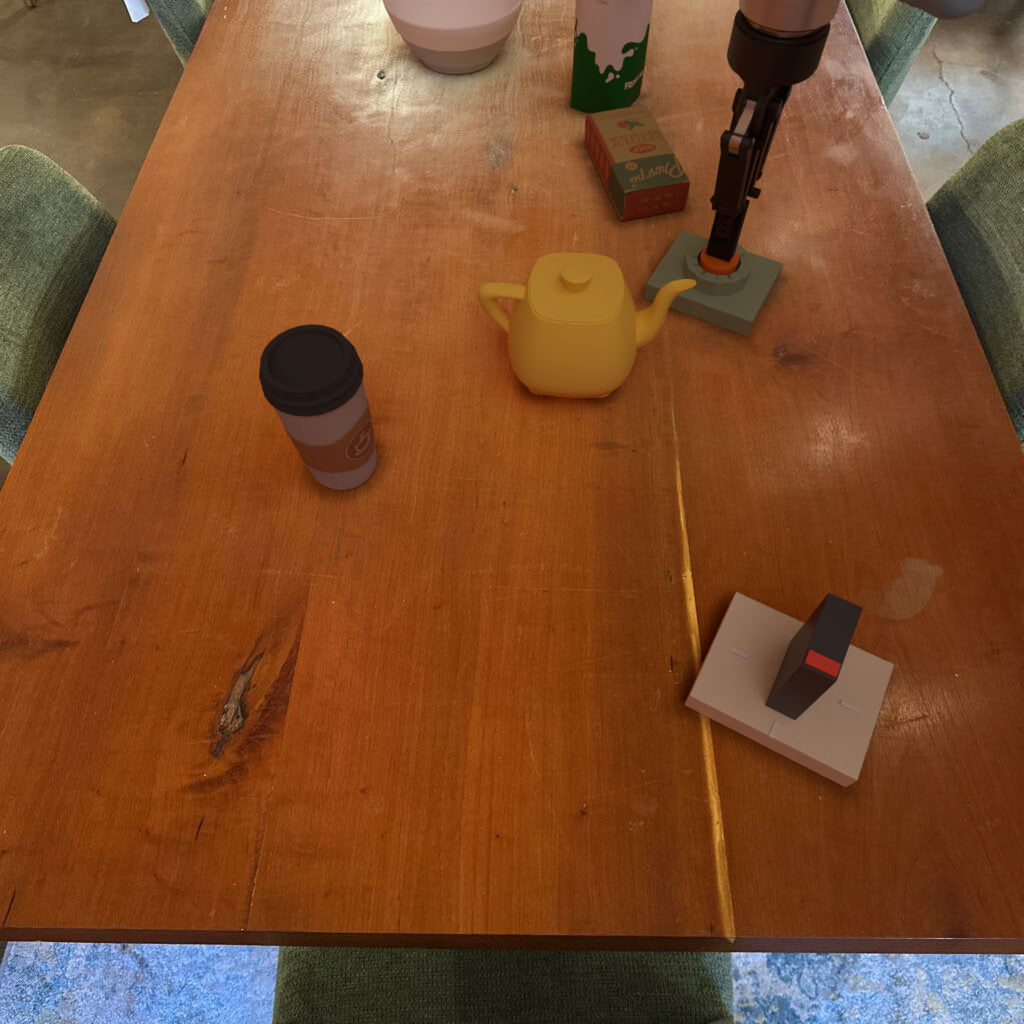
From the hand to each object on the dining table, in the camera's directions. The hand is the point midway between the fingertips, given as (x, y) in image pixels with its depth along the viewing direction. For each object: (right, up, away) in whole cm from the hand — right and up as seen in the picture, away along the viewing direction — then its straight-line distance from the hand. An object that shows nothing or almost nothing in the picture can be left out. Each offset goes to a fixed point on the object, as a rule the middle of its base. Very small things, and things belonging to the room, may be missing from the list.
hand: (720, 253), depth 81 cm
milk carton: (-9, +28, +23) cm, 38 cm away
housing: (0, -3, +4) cm, 5 cm away
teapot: (-15, -12, -1) cm, 19 cm away
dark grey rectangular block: (0, -40, -22) cm, 46 cm away
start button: (0, -1, +2) cm, 2 cm away
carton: (-7, +14, +15) cm, 22 cm away
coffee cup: (-38, -23, -7) cm, 45 cm away
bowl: (-30, +39, +30) cm, 57 cm away
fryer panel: (0, -42, -19) cm, 46 cm away
